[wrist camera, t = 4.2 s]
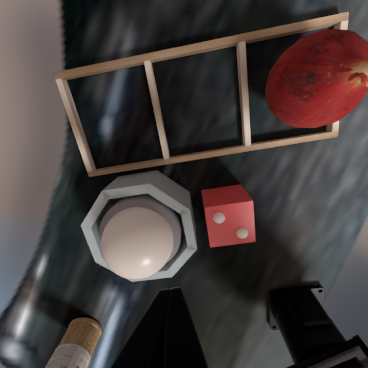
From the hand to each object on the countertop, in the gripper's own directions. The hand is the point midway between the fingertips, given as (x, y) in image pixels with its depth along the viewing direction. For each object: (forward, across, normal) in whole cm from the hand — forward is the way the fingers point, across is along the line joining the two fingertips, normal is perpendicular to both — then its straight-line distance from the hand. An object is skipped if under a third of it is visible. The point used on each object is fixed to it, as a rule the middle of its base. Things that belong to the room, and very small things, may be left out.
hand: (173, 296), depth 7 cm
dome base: (+13, +2, +3) cm, 13 cm away
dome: (+12, +4, +3) cm, 13 cm away
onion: (+13, -10, -6) cm, 18 cm away
